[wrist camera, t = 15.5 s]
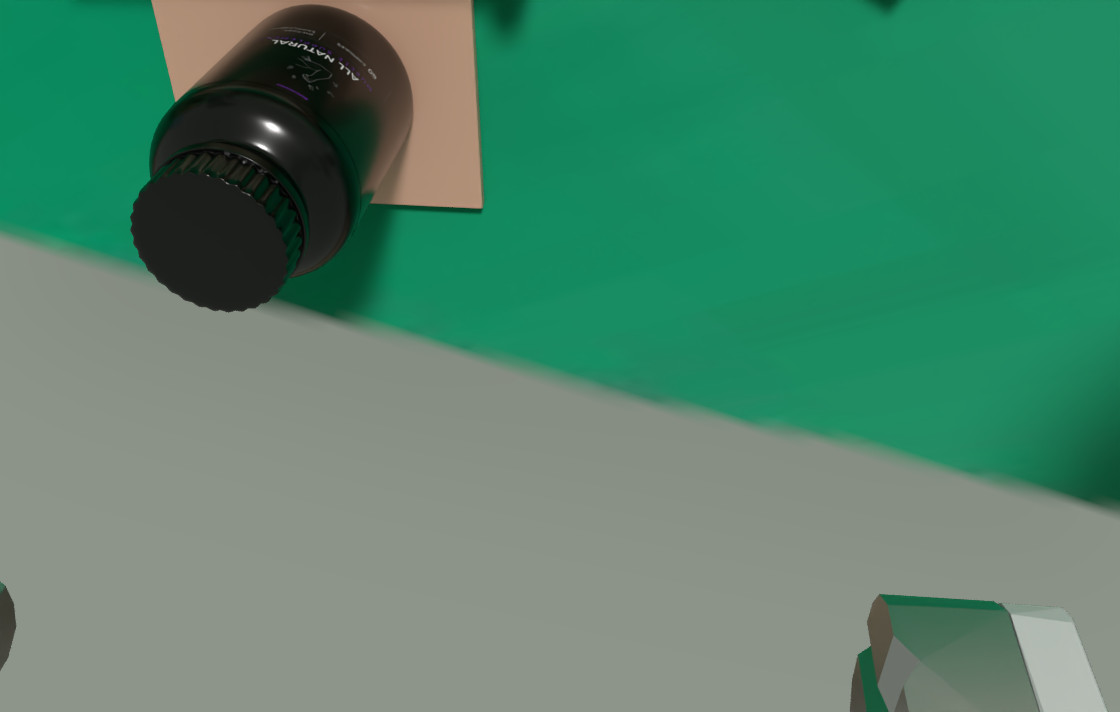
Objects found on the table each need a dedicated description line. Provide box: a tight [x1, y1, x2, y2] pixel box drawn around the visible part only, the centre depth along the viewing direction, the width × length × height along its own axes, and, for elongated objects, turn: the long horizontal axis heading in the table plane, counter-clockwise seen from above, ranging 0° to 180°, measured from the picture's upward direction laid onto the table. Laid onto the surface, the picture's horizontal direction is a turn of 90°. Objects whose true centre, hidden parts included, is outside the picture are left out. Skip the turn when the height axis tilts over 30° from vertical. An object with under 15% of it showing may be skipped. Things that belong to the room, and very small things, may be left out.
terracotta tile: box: [151, 0, 484, 208], centre depth 40 cm, size 12×10×1 cm
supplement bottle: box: [130, 4, 413, 312], centre depth 35 cm, size 7×7×12 cm
